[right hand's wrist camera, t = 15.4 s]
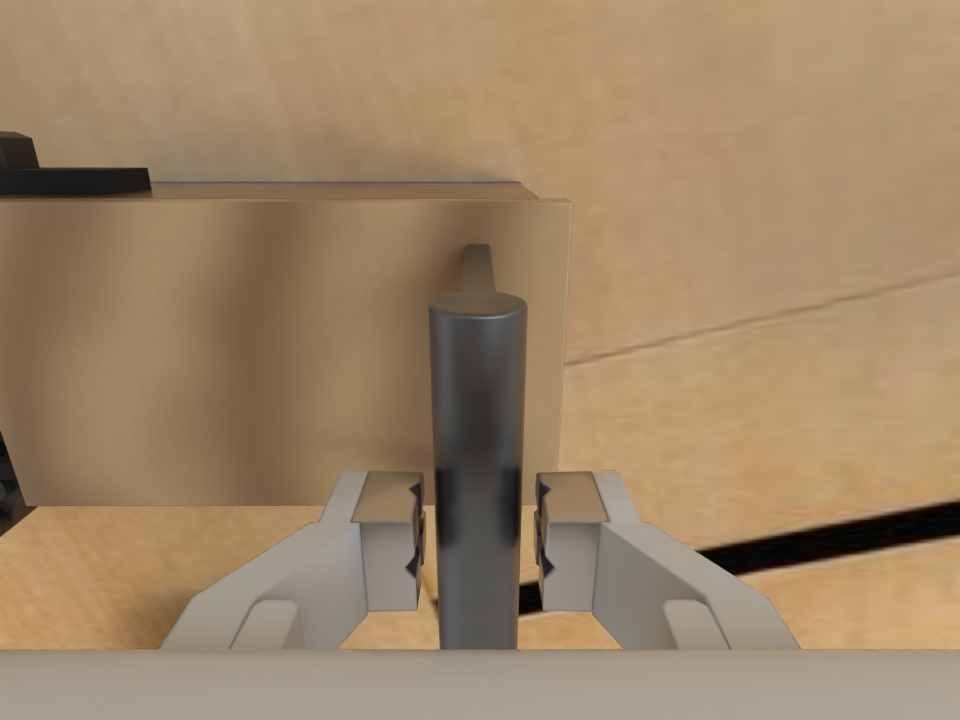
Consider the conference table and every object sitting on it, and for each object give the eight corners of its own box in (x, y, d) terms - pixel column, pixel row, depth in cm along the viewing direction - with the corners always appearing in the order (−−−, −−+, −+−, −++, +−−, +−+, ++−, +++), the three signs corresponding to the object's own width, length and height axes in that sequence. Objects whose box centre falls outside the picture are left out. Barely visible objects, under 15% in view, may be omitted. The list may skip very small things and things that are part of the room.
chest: (519, 182, 25) (541, 198, 16) (514, 384, 28) (530, 486, 20) (140, 182, 25) (-41, 198, 16) (181, 384, 28) (51, 486, 20)
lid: (567, 198, 16) (661, 248, 8) (551, 486, 20) (606, 731, 11) (-42, 198, 16) (-595, 248, 8) (50, 487, 19) (-266, 735, 11)
